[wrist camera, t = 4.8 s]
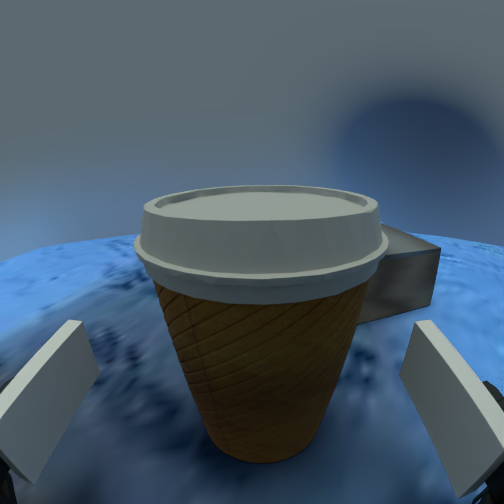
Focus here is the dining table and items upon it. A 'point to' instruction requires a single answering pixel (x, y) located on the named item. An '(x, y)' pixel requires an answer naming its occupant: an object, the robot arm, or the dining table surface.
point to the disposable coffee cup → (261, 303)
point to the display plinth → (401, 276)
